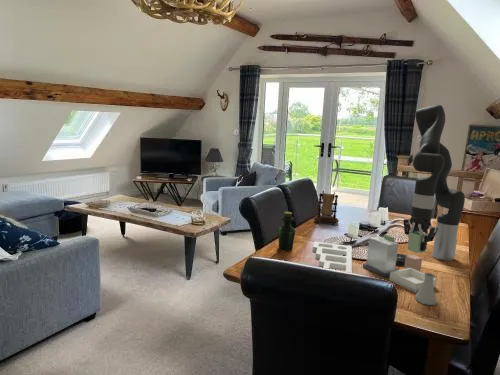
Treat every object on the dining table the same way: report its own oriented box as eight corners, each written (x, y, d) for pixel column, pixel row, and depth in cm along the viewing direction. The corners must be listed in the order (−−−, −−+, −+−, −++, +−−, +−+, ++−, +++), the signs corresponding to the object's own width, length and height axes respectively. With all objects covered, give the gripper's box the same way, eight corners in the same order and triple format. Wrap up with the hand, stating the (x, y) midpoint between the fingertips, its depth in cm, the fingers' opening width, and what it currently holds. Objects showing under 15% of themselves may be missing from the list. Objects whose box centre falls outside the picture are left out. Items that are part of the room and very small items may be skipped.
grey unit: (379, 263, 167) (382, 231, 165) (401, 274, 157) (405, 239, 155) (362, 267, 163) (366, 233, 160) (384, 277, 152) (388, 242, 150)
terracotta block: (410, 269, 163) (412, 254, 161) (419, 273, 159) (422, 258, 158) (403, 271, 160) (405, 255, 159) (412, 275, 157) (414, 259, 155)
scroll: (312, 224, 228) (315, 191, 225) (315, 218, 242) (318, 188, 239) (337, 227, 224) (340, 194, 221) (339, 221, 238) (342, 190, 234)
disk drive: (409, 260, 176) (376, 255, 179) (410, 255, 175) (377, 250, 179) (413, 268, 166) (378, 263, 169) (414, 262, 165) (378, 257, 169)
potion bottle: (295, 247, 183) (297, 211, 180) (292, 252, 176) (295, 215, 172) (278, 245, 185) (281, 209, 182) (275, 250, 178) (278, 213, 175)
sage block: (415, 248, 149) (417, 231, 147) (425, 251, 145) (427, 234, 144) (407, 249, 146) (409, 232, 145) (417, 253, 143) (419, 235, 141)
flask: (430, 296, 137) (434, 270, 136) (441, 306, 130) (445, 279, 129) (411, 295, 137) (414, 270, 135) (420, 305, 130) (424, 278, 128)
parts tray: (409, 275, 156) (410, 267, 155) (435, 287, 146) (436, 278, 145) (389, 280, 150) (390, 271, 150) (415, 292, 140) (416, 283, 139)
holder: (350, 289, 141) (351, 282, 140) (303, 282, 145) (303, 275, 145) (351, 251, 184) (351, 246, 183) (314, 246, 188) (314, 241, 188)
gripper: (400, 202, 147) (394, 244, 150) (433, 210, 135) (426, 256, 138) (413, 201, 150) (407, 242, 153) (446, 209, 138) (439, 253, 141)
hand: (416, 248), depth 145 cm, fingers closed on sage block, 4 cm apart
